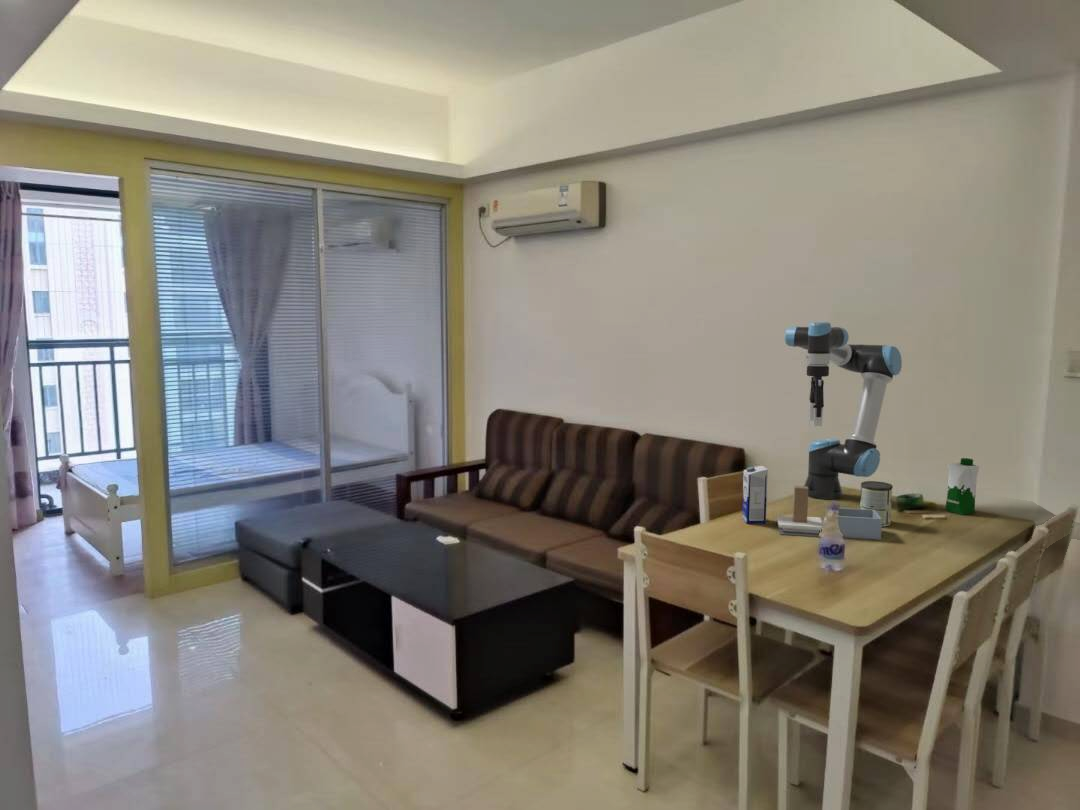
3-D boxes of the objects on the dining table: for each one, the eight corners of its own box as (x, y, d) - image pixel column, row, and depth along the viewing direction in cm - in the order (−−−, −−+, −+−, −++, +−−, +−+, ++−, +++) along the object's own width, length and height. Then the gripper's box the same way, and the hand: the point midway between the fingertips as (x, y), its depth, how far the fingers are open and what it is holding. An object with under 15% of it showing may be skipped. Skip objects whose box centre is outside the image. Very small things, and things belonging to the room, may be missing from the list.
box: (830, 526, 258) (831, 507, 257) (873, 529, 254) (874, 509, 253) (835, 536, 246) (836, 516, 245) (880, 539, 243) (881, 519, 242)
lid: (776, 521, 262) (777, 481, 260) (819, 524, 259) (821, 484, 257) (778, 531, 250) (780, 490, 248) (824, 534, 247) (826, 492, 245)
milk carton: (765, 523, 261) (767, 468, 259) (746, 523, 261) (748, 468, 259) (760, 518, 268) (762, 464, 266) (741, 518, 268) (743, 464, 266)
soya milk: (978, 513, 274) (982, 460, 272) (962, 516, 271) (966, 462, 268) (956, 507, 282) (960, 456, 280) (940, 510, 279) (944, 458, 276)
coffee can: (854, 518, 268) (856, 480, 266) (884, 519, 267) (886, 481, 265) (864, 526, 258) (866, 487, 256) (894, 527, 257) (897, 487, 255)
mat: (776, 521, 264) (776, 520, 264) (817, 524, 260) (817, 523, 260) (780, 534, 248) (780, 533, 248) (823, 537, 245) (823, 536, 245)
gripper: (803, 362, 277) (801, 418, 280) (811, 367, 253) (808, 428, 256) (824, 363, 275) (821, 418, 278) (834, 367, 251) (831, 428, 254)
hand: (815, 423), depth 267 cm, fingers open, 13 cm apart
